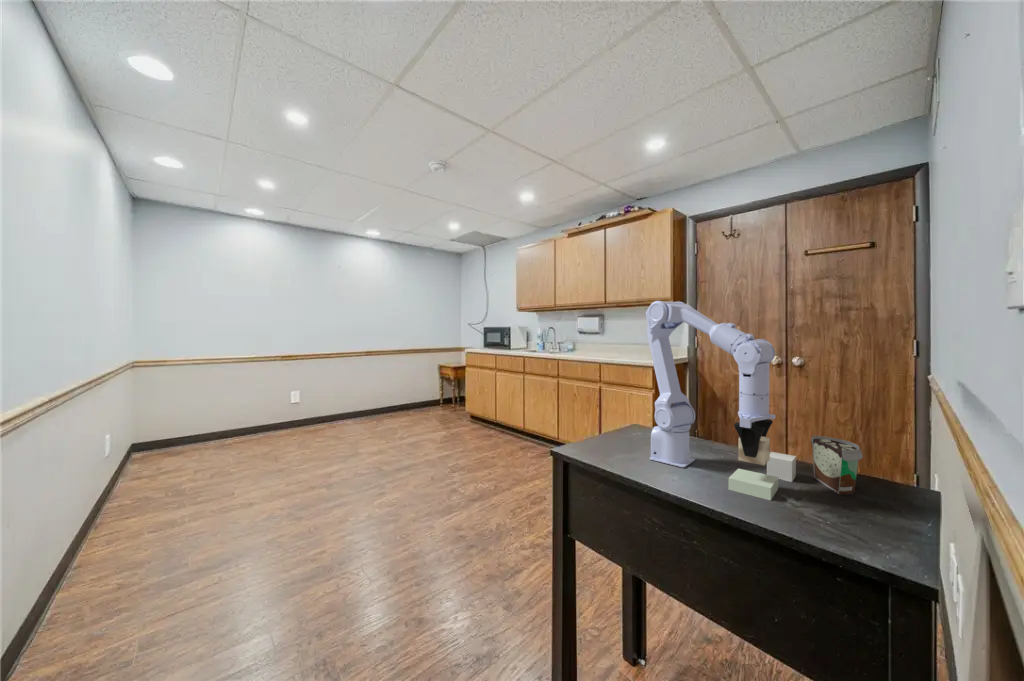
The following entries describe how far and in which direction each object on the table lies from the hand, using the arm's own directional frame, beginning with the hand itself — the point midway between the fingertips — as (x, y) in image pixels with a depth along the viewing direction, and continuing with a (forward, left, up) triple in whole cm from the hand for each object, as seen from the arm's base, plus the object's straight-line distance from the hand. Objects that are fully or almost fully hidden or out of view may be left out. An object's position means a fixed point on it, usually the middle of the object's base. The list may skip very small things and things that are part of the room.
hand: (753, 453), depth 85 cm
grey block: (+3, +13, -8) cm, 16 cm away
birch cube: (0, 0, -2) cm, 2 cm away
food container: (+14, +15, -8) cm, 22 cm away
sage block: (0, 0, -9) cm, 9 cm away
